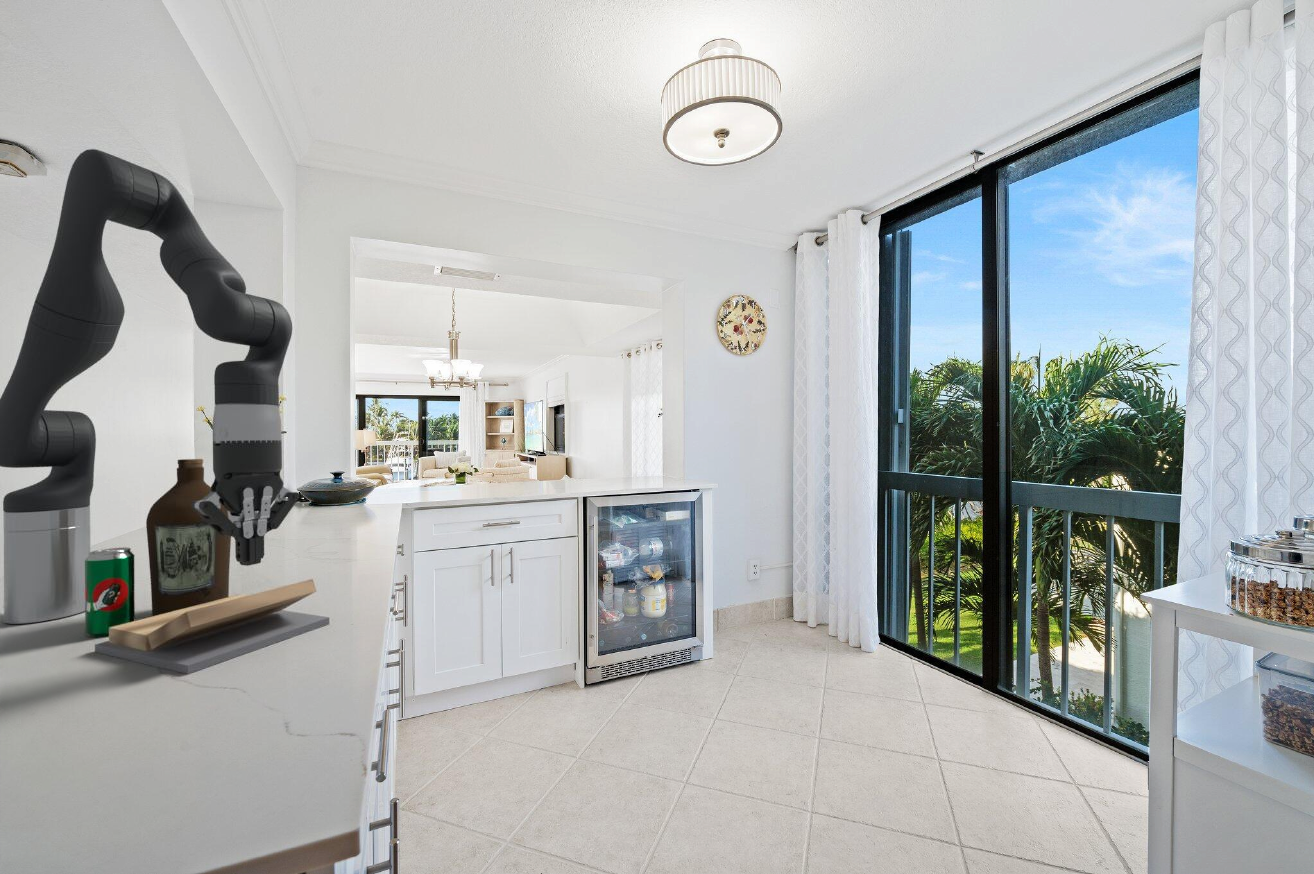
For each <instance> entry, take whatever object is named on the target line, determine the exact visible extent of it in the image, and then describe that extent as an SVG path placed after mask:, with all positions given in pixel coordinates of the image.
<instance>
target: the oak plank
mask: <svg viewBox="0 0 1314 874" xmlns="http://www.w3.org/2000/svg"><path fill="white" fill-rule="evenodd" d="M249 595H250V594H249ZM249 595H248V594H242V593H241V594H240V593H239V594H236V595H233V596H229V597H227V598H223V599H219V600H215V601H212V602H208V603H204V604H200V605H196V606H192V607H188V608H184V609H180V610H176V611H172V612H168V613H165V614H161V615H157V616H149V617H146V618H141V619H137V620H135V621H133V622H129V623H125V624H121V625H118V626H114V627H110V628H109V636H108V641H109V643H113V644H118V645H122V646H127V647H131V648H136V649H140V650H145V651H147V650H151V646H150V642H149V639H148V634H150V633H151V632H153V631H155V630H156V629H158V628H160V627H161V626H163V625H165V624H167V623H168V622H170V621H172V620H173V619H175V618H177V617H178V616H180V615H182V614H183V613H185V612H187V611H191V610H195V609H199V608H203V607H206V606H210V605H214V604H218V603H222V602H226V601H229V600H233V599H237V598H241V597H245V596H249Z"/></svg>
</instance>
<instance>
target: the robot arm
mask: <svg viewBox="0 0 1314 874" xmlns="http://www.w3.org/2000/svg"><path fill="white" fill-rule="evenodd" d="M65 185H66V186H65V190H64V194H63V200H62V205H61V211H60V215H59V221H58V227H57V231H56V237H55V240H54V244H53V247H52V251H51V255H50V258H49V261H48V264H47V267H46V271H45V273H44V276H43V278H42V282H41V284H40V286H39V289H38V292H37V295H36V297H35V300H34V302H33V306H32V309H31V313H30V315H29V318H28V322H27V325H26V330H25V333H24V337H23V339H22V345H21V348H20V350H19V354H18V356H17V360H16V363H15V365H14V369H13V371H12V372H11V375H10V378H9V380H8V382H7V384H6V386H5V388H4V390H3V393H2V395H1V396H0V467H2V468H10V469H11V468H13V469H16V468H20V469H21V468H22V469H23V468H25V469H26V468H28V469H29V468H47V467H48V468H51V470H50V472H49V474H48V476H46V477H44V478H43V479H42V480H40V481H38V482H37V483H34V484H32V485H28V486H26V487H22V488H20V489H16V490H13V491H10V492H8V493H7V494H6V495H4V497H3V500H2V501H3V502H2V506H3V508H2V509H3V622H4V623H5V624H9V625H10V624H11V625H13V624H15V625H16V624H17V625H20V624H21V625H22V624H30V623H31V624H32V623H38V622H44V621H45V622H46V621H49V620H56V619H61V618H65V617H69V616H73V615H77V614H81V613H83V612H85V560H86V559H87V558H88V556H89V552H91V506H90V505H91V495H92V492H93V488H94V478H95V477H94V474H95V459H96V448H97V447H96V446H97V437H96V435H97V434H96V429H95V425H94V423H93V421H92V419H91V418H90V417H89V416H88V415H87V414H85V413H83V412H80V411H75V410H74V411H73V410H72V411H71V410H48V409H46V407H47V406H48V404H49V403H50V401H51V399H52V398H53V397H54V395H55V394H56V393H57V392H58V391H59V390H60V389H61V388H62V387H64V385H66V384H68V383H69V382H70V381H71V380H73V379H75V378H76V377H77V376H80V375H81V374H82V373H84V372H85V371H86V370H89V368H92V367H93V366H94V365H95V364H97V363H98V362H100V361H101V360H102V359H103V358H104V357H106V356H107V355H108V354H109V353H110V352H111V350H112V349H113V348H114V346H115V343H116V341H117V337H118V335H119V332H120V329H121V326H122V323H123V321H124V316H125V304H124V301H123V299H122V296H121V294H120V291H119V289H118V287H117V285H116V282H115V281H114V278H113V277H112V274H111V272H110V270H109V269H108V266H107V264H106V261H105V258H104V254H103V253H104V252H103V250H102V249H103V234H104V230H105V226H106V223H107V221H108V222H109V221H110V222H113V223H116V224H120V225H122V226H126V227H129V228H132V229H136V230H139V231H145V232H146V231H147V232H150V233H152V234H154V235H155V236H156V237H158V238H160V239H161V240H162V243H161V245H160V248H159V258H160V262H161V265H162V267H163V269H164V271H165V272H166V273H167V275H168V276H169V277H170V278H171V279H172V281H173V282H174V283H175V285H176V286H177V287H179V289H180V290H181V291H182V292H183V293H184V295H185V296H186V297H187V300H188V303H189V306H190V309H191V312H192V315H193V319H194V322H195V324H196V326H197V327H198V329H199V330H200V331H201V332H202V333H204V334H205V335H207V336H208V337H210V338H212V339H214V340H216V341H219V342H223V343H230V344H235V345H242V346H243V345H244V346H249V348H248V352H247V353H246V356H245V357H244V359H243V360H231V361H225V362H224V361H223V362H221V363H220V364H217V366H216V367H215V370H214V377H213V380H214V382H213V383H214V410H213V416H212V471H213V475H214V479H213V481H212V484H211V486H210V487H211V493H209V494H208V495H207V496H206V497H204V498H203V499H202V500H200V501H194V502H193V503H192V504H191V508H192V509H193V510H194V511H195V512H196V513H197V514H198V515H199V516H200V517H201V518H202V519H203V520H205V521H206V522H207V523H208V524H209V525H210V526H211V527H212V528H213V529H214V530H215V531H216V532H217V533H218V534H219V535H227V536H231V538H233V539H234V542H235V543H234V544H235V547H234V548H235V549H234V550H235V554H234V555H235V559H236V562H238V563H239V565H241V566H247V567H249V566H253V565H258V564H261V562H262V559H264V556H265V536H266V534H267V533H269V532H271V531H272V530H276V529H279V527H280V526H281V524H283V523H282V522H283V521H284V520H285V519H286V517H287V516H288V515H289V513H290V511H292V508H293V507H294V505H296V504H297V502H298V500H299V499H300V493H298V492H296V491H290V490H289V489H287V488H286V487H284V481H283V479H282V477H281V471H282V469H283V454H282V453H283V450H282V448H283V446H282V443H283V442H282V440H283V439H282V420H281V419H282V418H281V413H280V396H279V395H280V394H279V393H280V391H279V390H280V389H279V388H280V386H279V378H280V374H281V371H282V368H283V364H284V360H285V357H286V354H287V351H288V348H289V346H290V342H291V339H292V335H293V321H292V318H291V315H290V314H289V312H288V310H287V309H286V307H285V306H284V305H282V303H280V302H278V301H276V300H273V299H269V298H266V297H262V296H259V295H258V296H257V295H252V294H250V293H247V286H246V282H245V280H244V279H243V277H242V276H241V274H240V273H239V272H238V270H237V269H236V268H235V267H234V266H233V265H232V264H231V262H229V261H228V260H227V259H226V258H225V256H223V255H222V253H220V252H219V250H218V249H217V248H216V247H215V246H214V244H212V242H211V241H210V240H209V238H208V237H207V236H206V234H205V233H204V230H202V228H201V225H200V224H199V222H198V221H197V219H196V216H194V214H193V213H192V211H191V210H190V207H189V206H188V204H187V202H186V201H185V199H184V197H183V196H182V194H181V192H180V191H179V190H178V189H177V187H176V186H175V185H174V184H173V183H172V182H171V181H170V180H169V179H168V178H166V177H165V176H163V175H162V174H160V173H158V172H155V171H153V170H151V169H148V168H145V167H143V166H141V165H138V164H136V163H132V162H131V161H127V160H126V159H123V158H121V157H119V156H115V155H114V154H110V153H108V152H106V151H102V150H99V149H96V148H91V149H86V150H84V151H82V152H80V153H79V155H78V156H77V157H76V158H75V160H74V162H73V163H72V165H71V167H70V171H69V173H68V177H67V180H66V184H65ZM219 502H220V503H221V504H222V505H223V506H224V507H225V508H226V509H227V510H228V517H227V516H226V515H225V514H224V513H223V512H222V511H221V510H220V508H221V505H220V503H219ZM271 505H272V506H271Z"/></svg>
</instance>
